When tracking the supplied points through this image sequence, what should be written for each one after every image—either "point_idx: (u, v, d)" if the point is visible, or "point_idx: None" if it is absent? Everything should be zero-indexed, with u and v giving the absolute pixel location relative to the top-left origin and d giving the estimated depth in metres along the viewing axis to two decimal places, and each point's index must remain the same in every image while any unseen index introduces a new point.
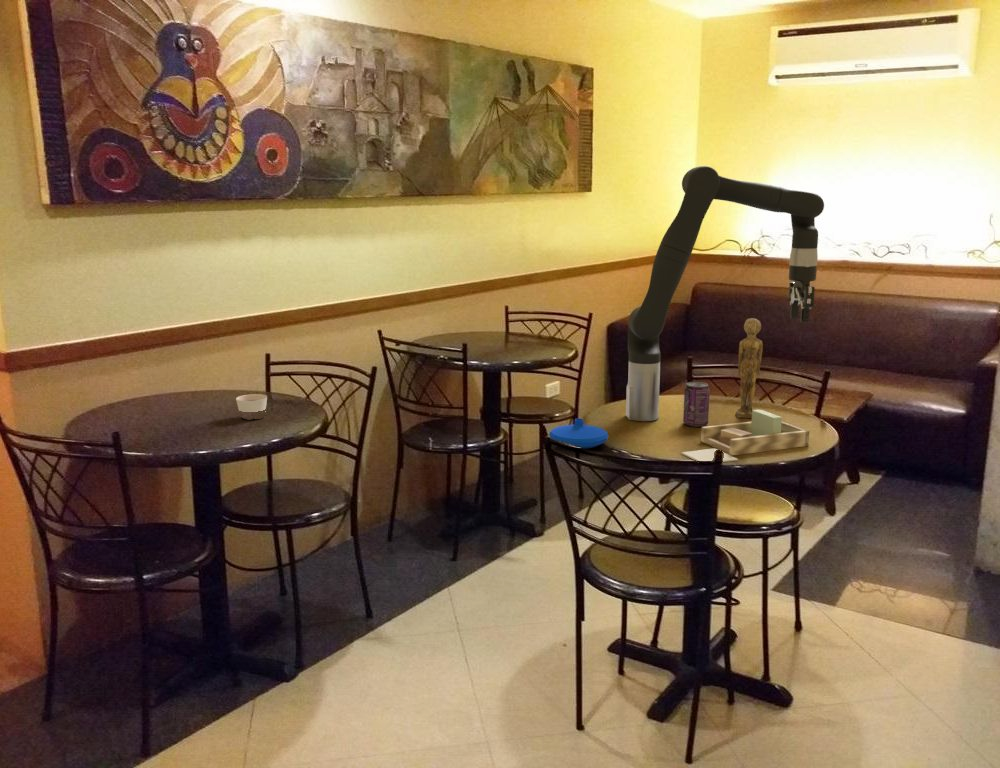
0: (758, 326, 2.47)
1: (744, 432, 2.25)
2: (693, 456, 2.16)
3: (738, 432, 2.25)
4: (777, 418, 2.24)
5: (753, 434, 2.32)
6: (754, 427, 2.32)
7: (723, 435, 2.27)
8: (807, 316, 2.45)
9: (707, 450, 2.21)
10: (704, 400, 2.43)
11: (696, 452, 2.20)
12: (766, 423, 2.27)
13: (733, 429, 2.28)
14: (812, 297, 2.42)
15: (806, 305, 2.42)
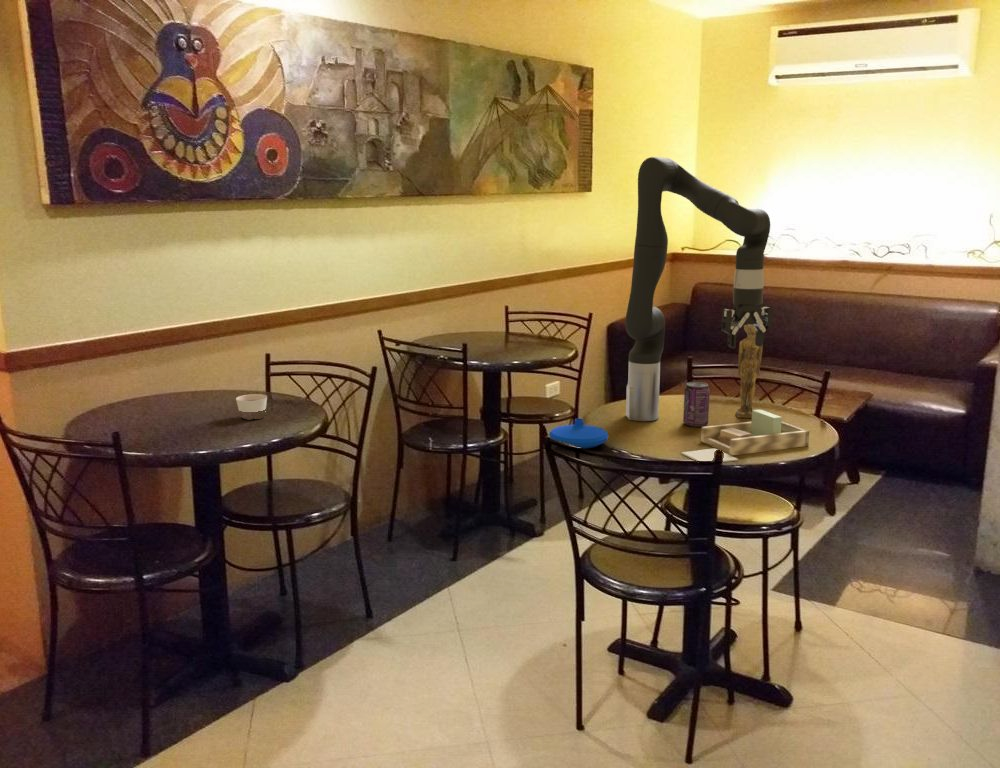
0: None
1: (743, 432, 2.25)
2: (693, 456, 2.16)
3: (738, 432, 2.25)
4: (777, 418, 2.24)
5: (753, 434, 2.32)
6: (754, 427, 2.32)
7: (722, 435, 2.27)
8: None
9: (707, 450, 2.21)
10: (704, 400, 2.43)
11: (696, 452, 2.20)
12: (766, 423, 2.27)
13: (733, 429, 2.28)
14: None
15: None
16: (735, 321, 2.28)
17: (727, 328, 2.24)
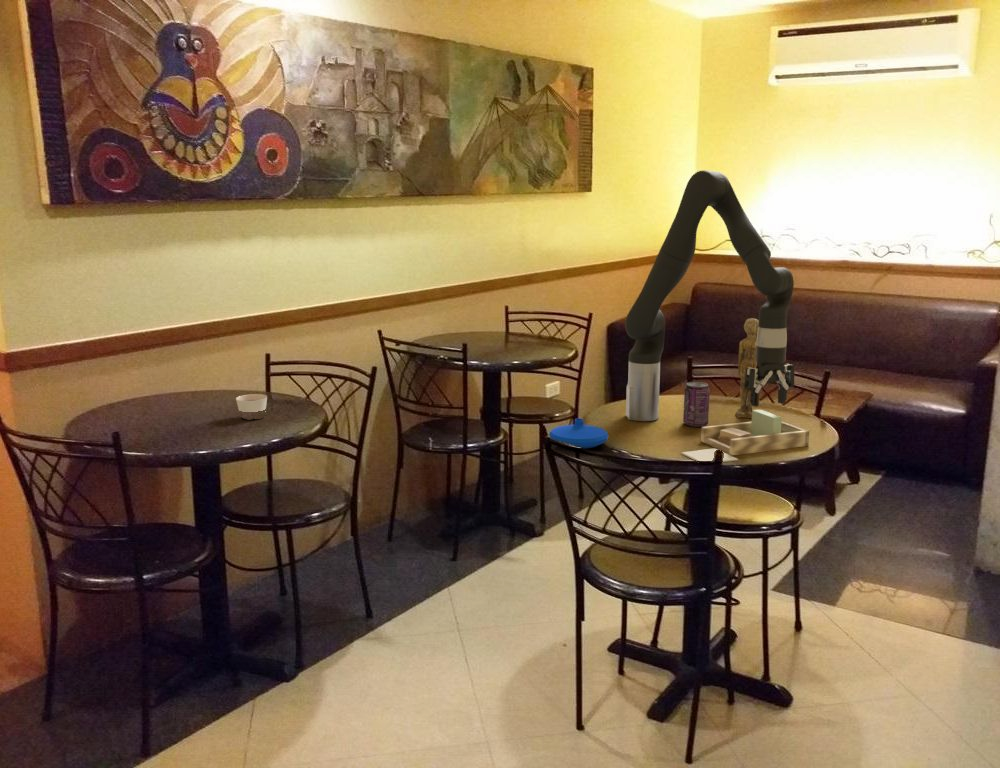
0: None
1: (743, 432, 2.25)
2: (693, 456, 2.16)
3: (738, 432, 2.25)
4: (777, 418, 2.24)
5: (753, 434, 2.32)
6: (754, 427, 2.32)
7: (722, 435, 2.27)
8: None
9: (707, 450, 2.21)
10: (704, 400, 2.43)
11: (696, 452, 2.20)
12: (766, 423, 2.27)
13: (732, 429, 2.28)
14: None
15: None
16: (758, 379, 2.27)
17: (750, 387, 2.23)
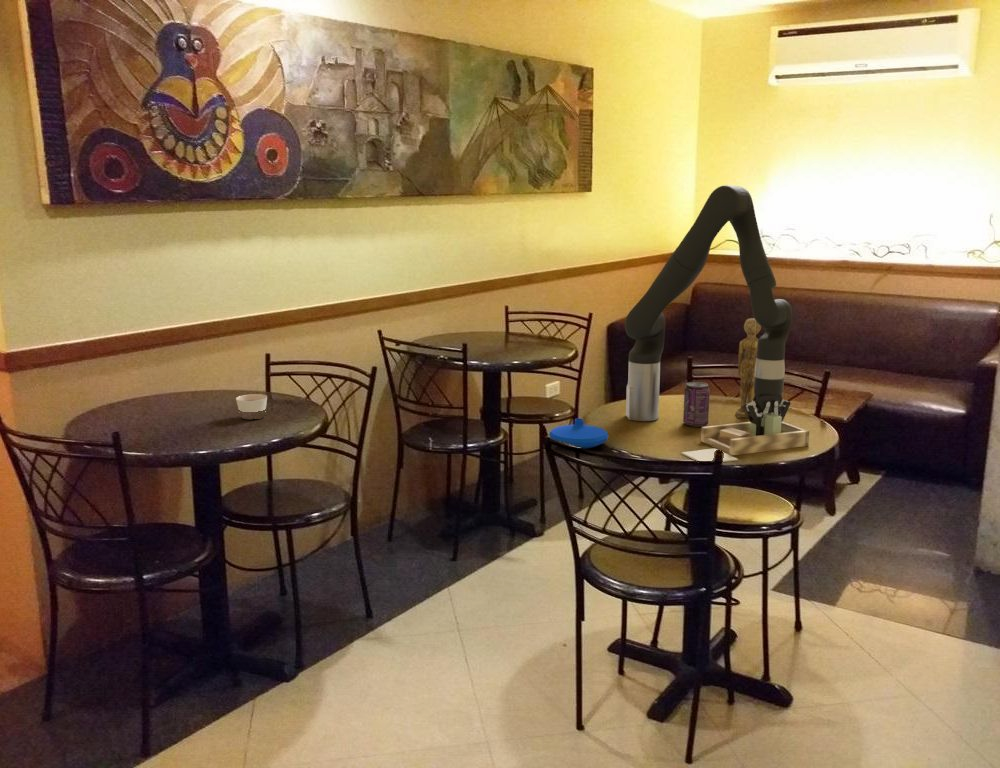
0: (758, 326, 2.47)
1: (743, 432, 2.25)
2: (693, 456, 2.16)
3: (737, 432, 2.25)
4: (777, 418, 2.24)
5: (753, 434, 2.32)
6: (754, 427, 2.32)
7: (722, 435, 2.27)
8: None
9: (707, 450, 2.21)
10: (704, 400, 2.43)
11: (696, 452, 2.20)
12: (766, 423, 2.27)
13: (732, 429, 2.28)
14: None
15: None
16: None
17: (756, 420, 2.26)
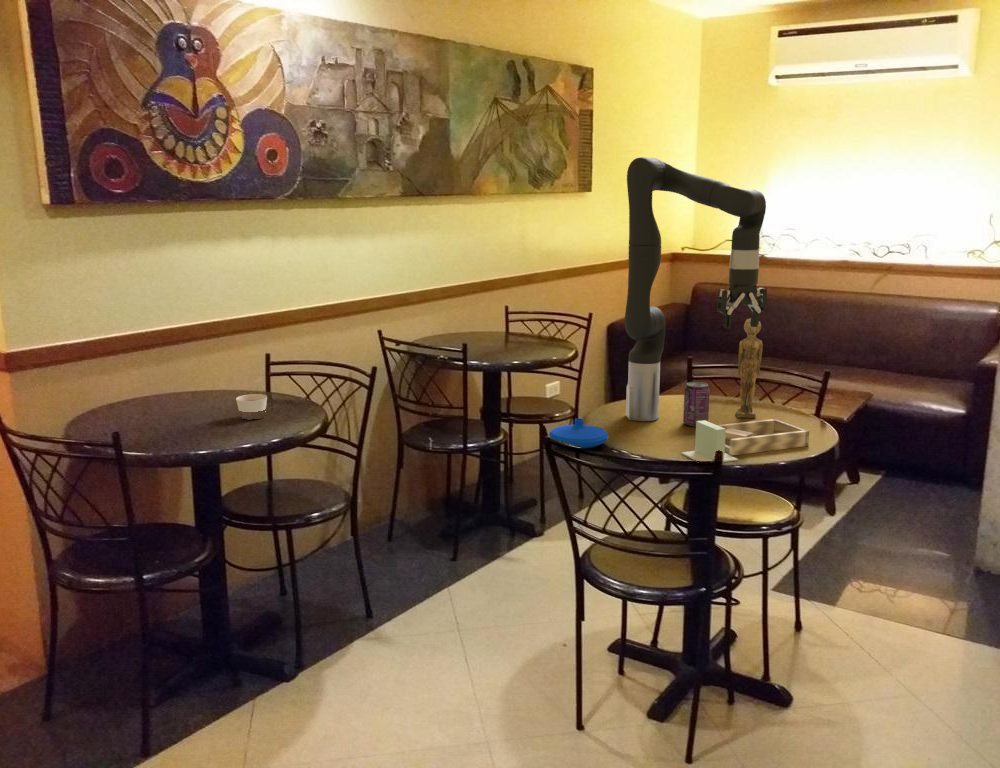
0: (758, 326, 2.47)
1: (745, 432, 2.25)
2: (693, 456, 2.16)
3: (740, 432, 2.25)
4: (720, 430, 2.11)
5: (697, 446, 2.19)
6: (698, 439, 2.19)
7: None
8: None
9: None
10: (704, 400, 2.43)
11: (696, 452, 2.20)
12: (709, 435, 2.14)
13: (732, 430, 2.28)
14: None
15: None
16: (730, 301, 2.29)
17: (722, 308, 2.26)
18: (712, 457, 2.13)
